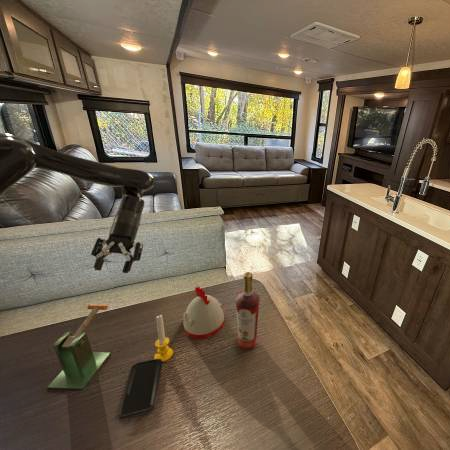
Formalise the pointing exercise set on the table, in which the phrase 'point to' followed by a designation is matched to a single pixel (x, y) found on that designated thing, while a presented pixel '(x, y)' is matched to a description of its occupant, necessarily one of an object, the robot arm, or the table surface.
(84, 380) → the bracket
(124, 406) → the phone
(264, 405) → the table surface
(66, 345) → the lever
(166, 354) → the candle
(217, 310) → the kitchen timer
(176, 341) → the table surface
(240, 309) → the liquor
